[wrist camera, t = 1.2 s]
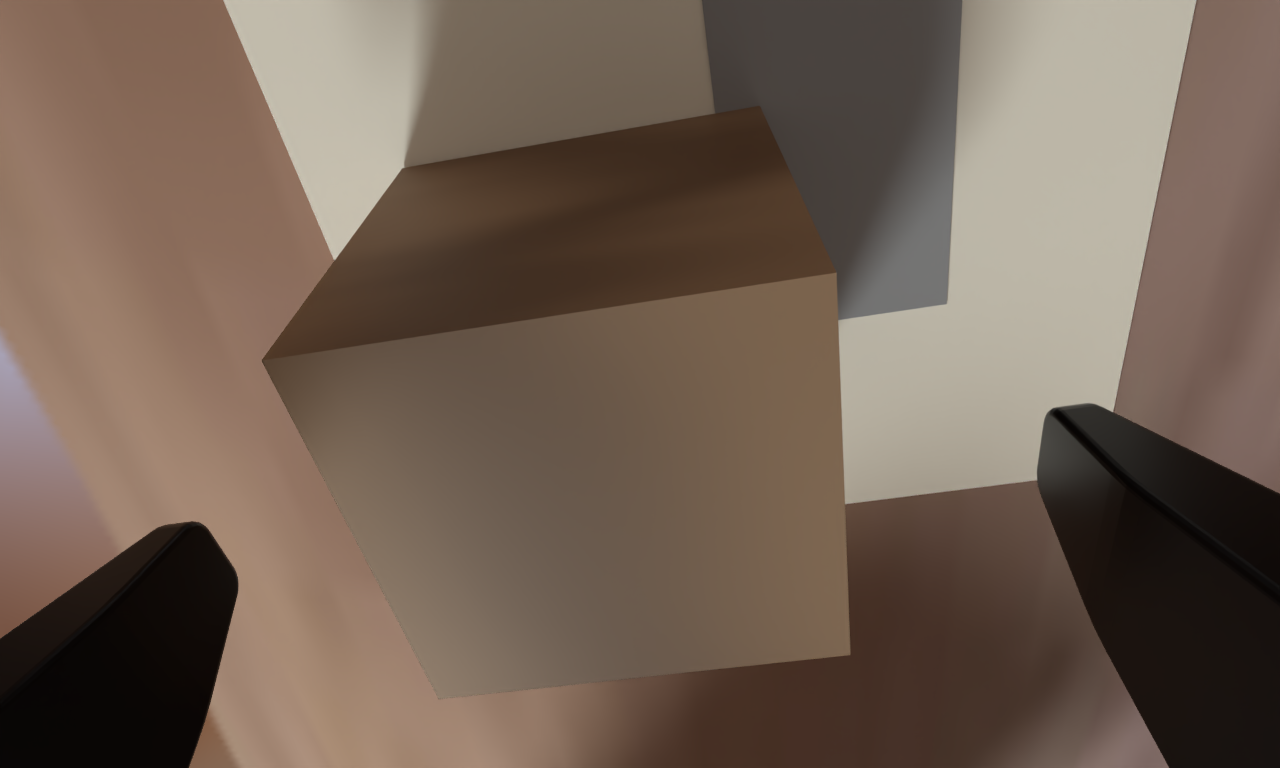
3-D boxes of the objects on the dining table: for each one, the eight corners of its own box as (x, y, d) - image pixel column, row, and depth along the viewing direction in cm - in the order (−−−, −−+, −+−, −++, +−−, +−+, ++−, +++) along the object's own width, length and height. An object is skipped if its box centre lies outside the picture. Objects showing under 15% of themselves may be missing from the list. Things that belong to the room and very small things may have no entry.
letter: (1437, -1265, 6) (1464, -1304, 5) (1096, 466, 14) (1101, 473, 14) (-102, -783, 7) (-121, -800, 7) (460, 546, 16) (458, 553, 15)
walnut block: (759, 105, 11) (837, 272, 6) (785, 404, 13) (849, 654, 9) (402, 167, 11) (261, 360, 7) (498, 444, 14) (438, 699, 10)
